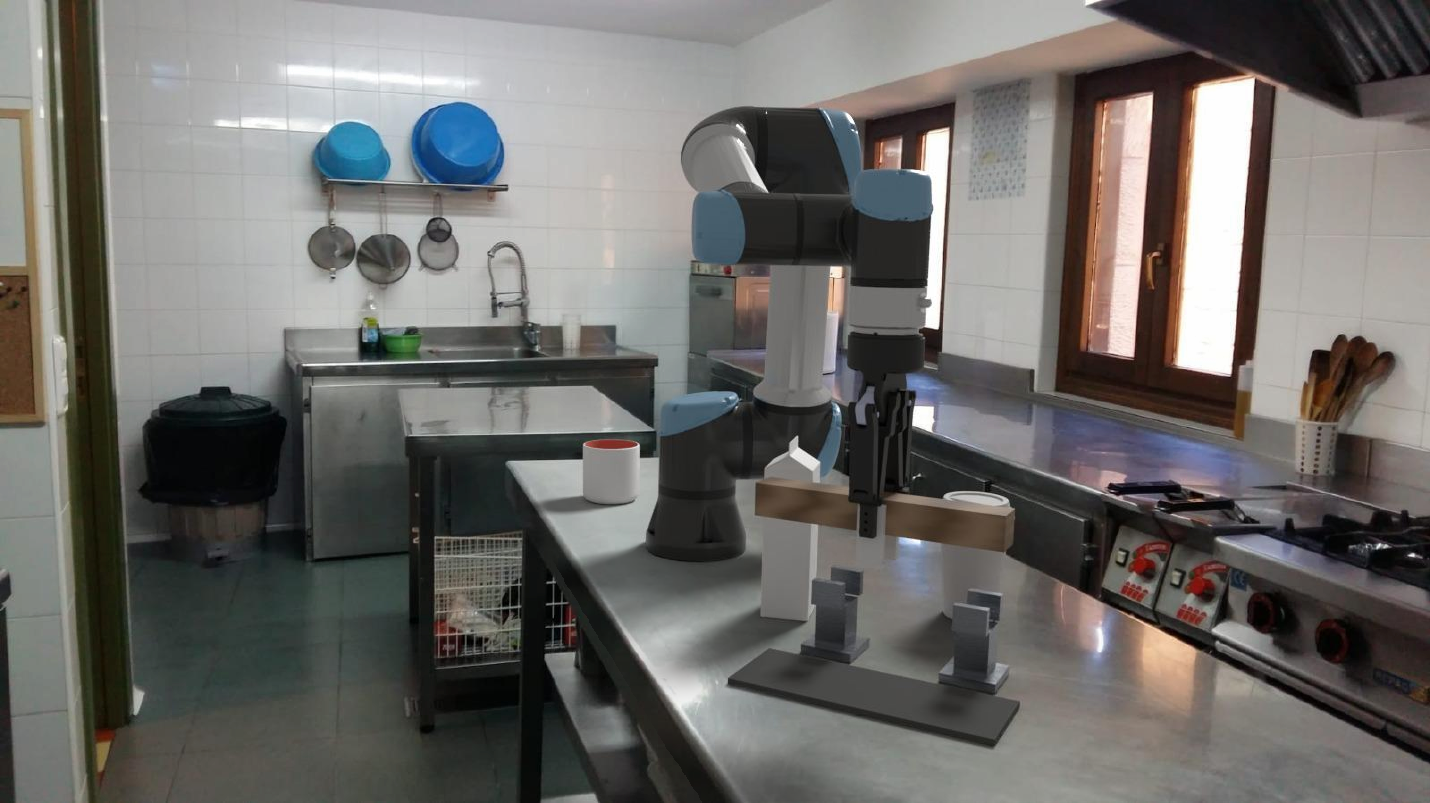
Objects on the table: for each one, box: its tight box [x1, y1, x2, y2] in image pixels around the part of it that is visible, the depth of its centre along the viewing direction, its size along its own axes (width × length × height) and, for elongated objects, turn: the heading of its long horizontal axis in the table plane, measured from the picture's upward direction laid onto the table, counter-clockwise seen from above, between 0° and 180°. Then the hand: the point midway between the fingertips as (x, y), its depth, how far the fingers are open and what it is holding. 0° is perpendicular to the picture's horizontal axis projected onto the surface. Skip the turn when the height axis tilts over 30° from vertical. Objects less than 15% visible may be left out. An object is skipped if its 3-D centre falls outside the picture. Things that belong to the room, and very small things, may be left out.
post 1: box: [800, 564, 871, 664], centre depth 125 cm, size 6×7×9 cm
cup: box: [582, 438, 641, 505], centre depth 194 cm, size 10×10×10 cm
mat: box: [727, 647, 1021, 747], centre depth 113 cm, size 28×10×1 cm, turn 62°
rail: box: [754, 477, 1016, 553], centre depth 110 cm, size 26×4×4 cm, turn 62°
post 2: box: [938, 588, 1010, 695], centre depth 117 cm, size 6×7×9 cm
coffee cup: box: [940, 490, 1016, 622], centre depth 137 cm, size 10×10×15 cm
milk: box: [760, 436, 821, 622], centre depth 136 cm, size 6×6×22 cm
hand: (876, 561), depth 111 cm, fingers closed on rail, 3 cm apart
